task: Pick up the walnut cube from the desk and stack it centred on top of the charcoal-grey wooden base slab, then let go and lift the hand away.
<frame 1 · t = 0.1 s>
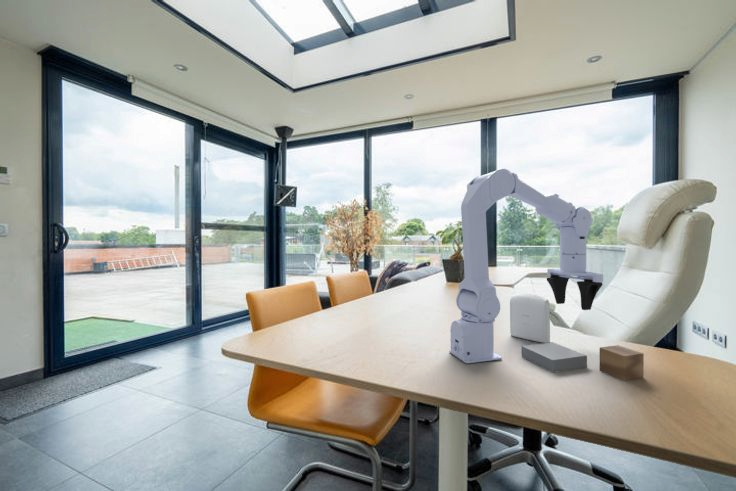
hand: (572, 306, 81), 10 cm above the table, tool pointing down, fingers open, 7 cm apart
walnut cube: (620, 374, 64), on the table
base slab: (552, 363, 71), on the table
photo printer: (529, 339, 87), on the table
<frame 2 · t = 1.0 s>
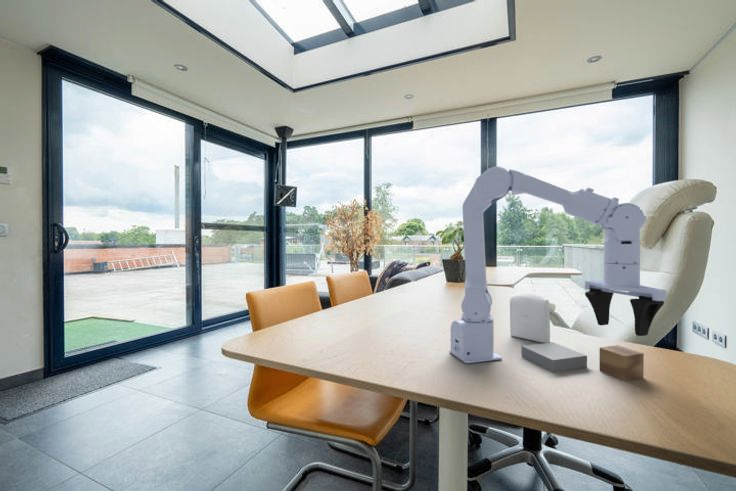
hand: (621, 329, 64), 9 cm above the table, tool pointing down, fingers open, 7 cm apart
nothing on the table moved.
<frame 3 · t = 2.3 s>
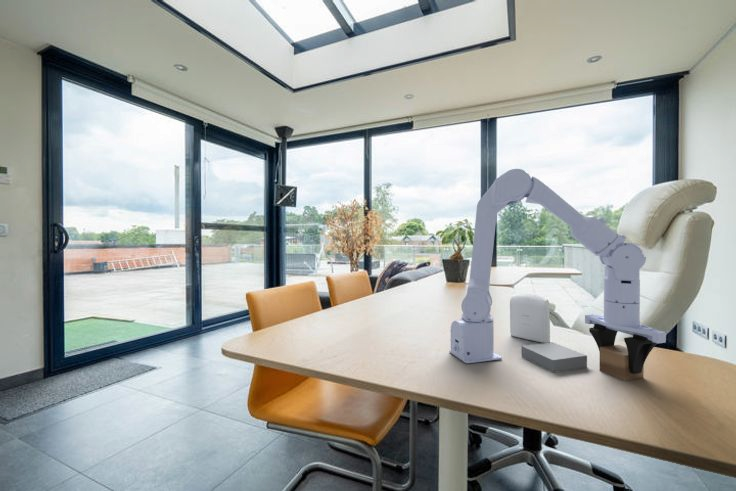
hand: (620, 367, 64), 1 cm above the table, tool pointing down, fingers closed on walnut cube, 5 cm apart
walnut cube: (620, 374, 64), on the table, touching gripper
everything else where it was.
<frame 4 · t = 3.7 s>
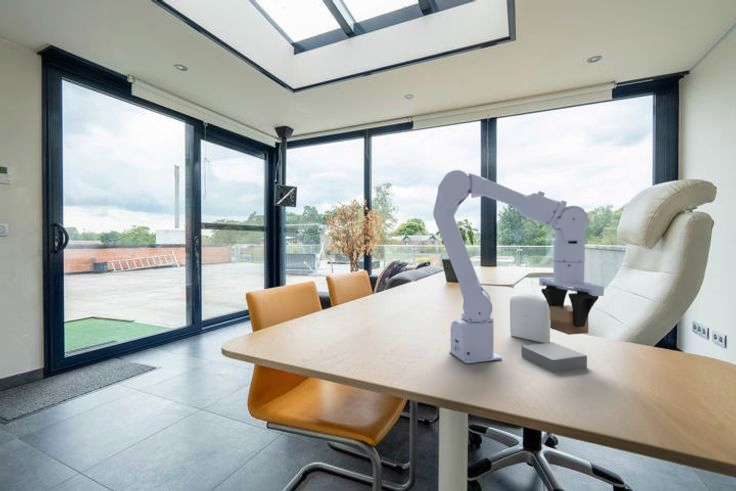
hand: (567, 323, 69), 9 cm above the table, tool pointing down, fingers closed on walnut cube, 5 cm apart
walnut cube: (568, 330, 69), point 8 cm above the table, touching gripper
everything else where it was.
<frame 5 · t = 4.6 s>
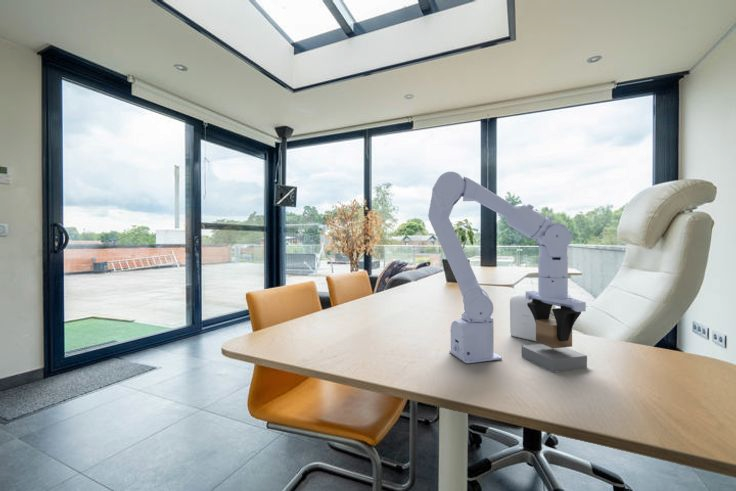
hand: (552, 336, 71), 6 cm above the table, tool pointing down, fingers closed on walnut cube, 5 cm apart
walnut cube: (553, 343, 71), point 4 cm above the table, touching gripper
everything else where it was.
when the fingers open (6 cm above the table, at t = 5.1 s): walnut cube drops 1 cm, point 2 cm above the table.
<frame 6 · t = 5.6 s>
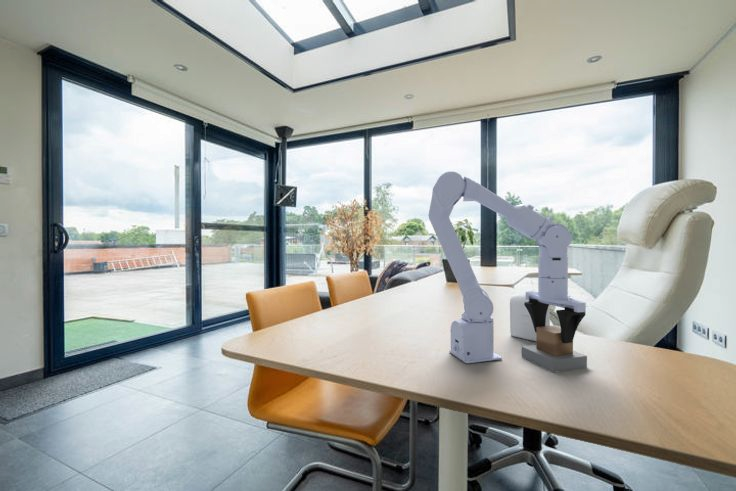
hand: (552, 337, 71), 6 cm above the table, tool pointing down, fingers open, 7 cm apart
walnut cube: (554, 351, 71), point 2 cm above the table
everything else where it was.
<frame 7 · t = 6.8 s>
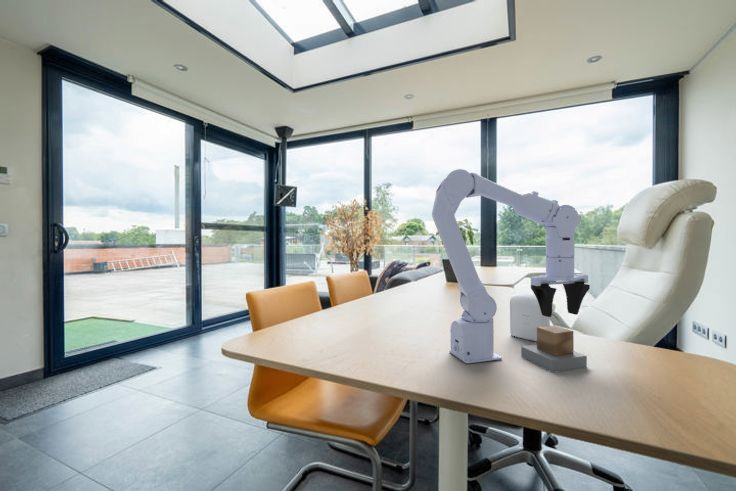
hand: (559, 314, 74), 10 cm above the table, tool pointing down, fingers open, 7 cm apart
nothing on the table moved.
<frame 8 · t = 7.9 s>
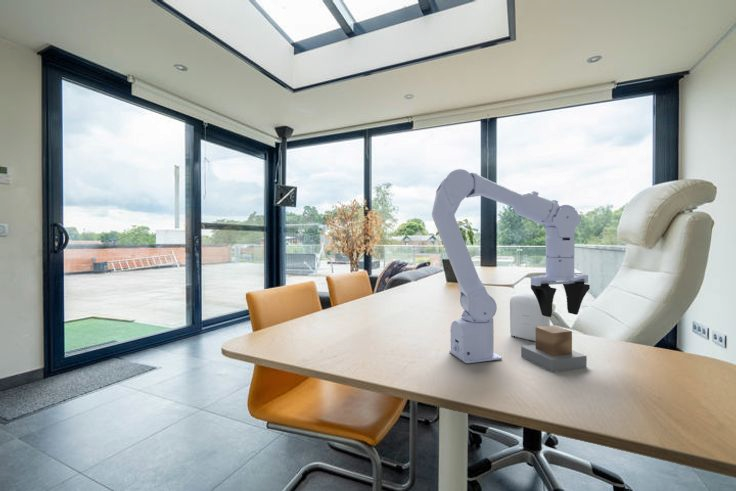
hand: (559, 314, 74), 10 cm above the table, tool pointing down, fingers open, 7 cm apart
walnut cube: (553, 351, 71), point 2 cm above the table, touching base slab
base slab: (552, 363, 71), on the table, touching walnut cube
everything else where it was.
at the end: walnut cube 0.3 cm off-centre on the base slab, point 3.0 cm above the base slab's base; walnut cube tilted 0°; the gripper is holding nothing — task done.
